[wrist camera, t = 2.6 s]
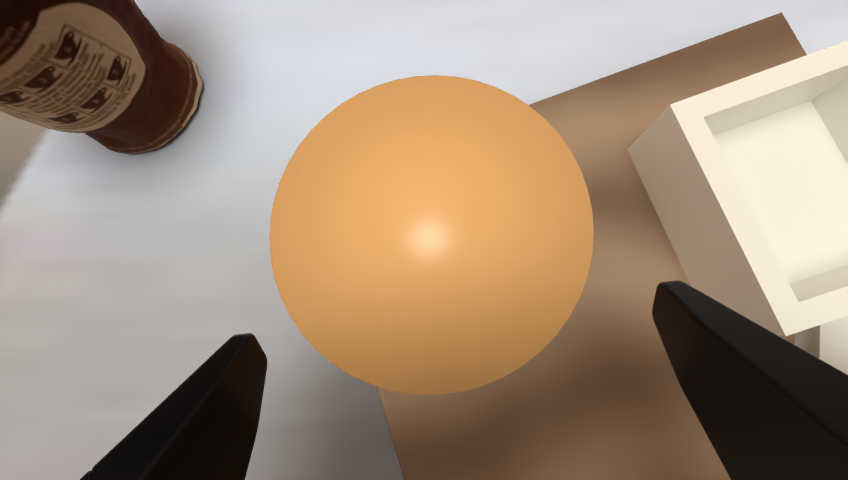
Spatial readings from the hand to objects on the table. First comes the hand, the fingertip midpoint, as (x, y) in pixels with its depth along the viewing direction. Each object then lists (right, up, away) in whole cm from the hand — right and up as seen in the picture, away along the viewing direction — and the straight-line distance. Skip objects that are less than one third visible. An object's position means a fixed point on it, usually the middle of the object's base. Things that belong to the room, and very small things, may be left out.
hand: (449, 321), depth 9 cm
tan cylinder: (+1, 0, +9) cm, 9 cm away
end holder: (+13, +3, +8) cm, 16 cm away
